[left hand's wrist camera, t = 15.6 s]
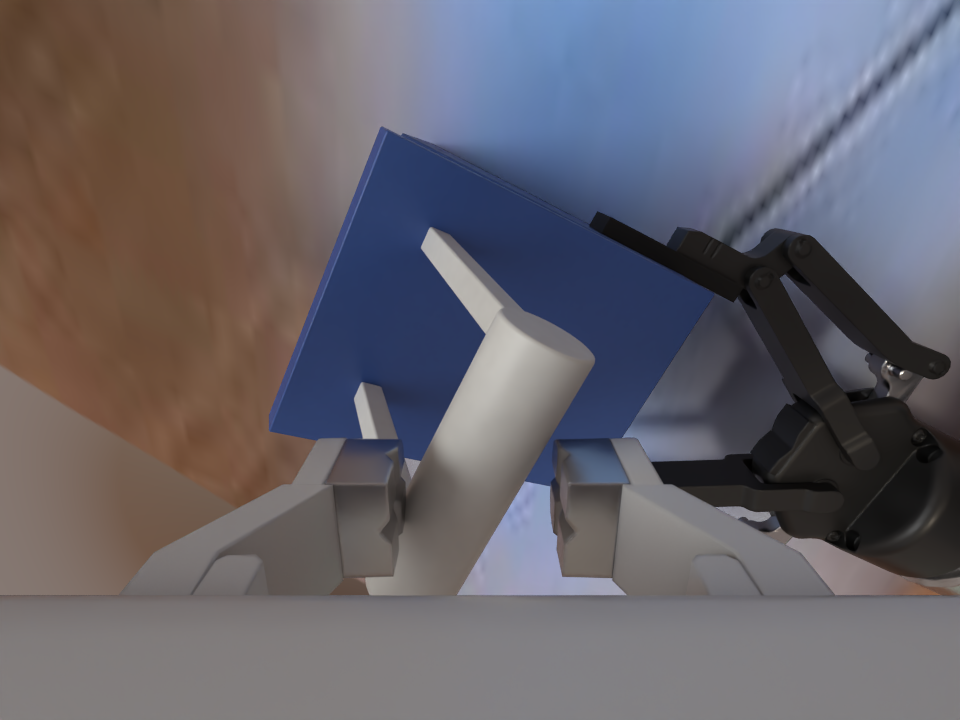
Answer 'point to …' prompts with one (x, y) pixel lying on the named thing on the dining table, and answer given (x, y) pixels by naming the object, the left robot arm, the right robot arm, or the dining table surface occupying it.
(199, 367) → the dining table surface
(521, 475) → the lid
